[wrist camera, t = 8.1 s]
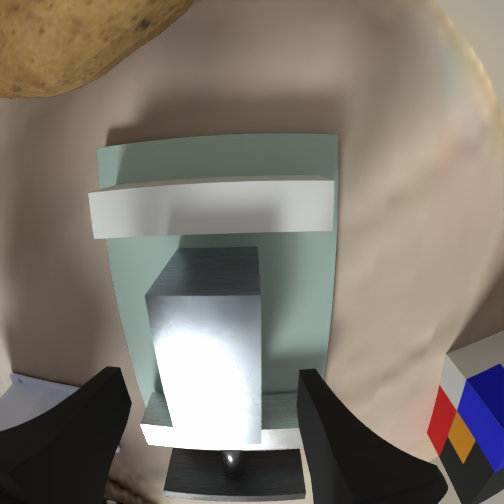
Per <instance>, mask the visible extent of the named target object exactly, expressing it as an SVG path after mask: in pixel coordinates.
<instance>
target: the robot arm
mask: <svg viewBox="0 0 504 504" xmlns="http://www.w3.org/2000/svg"><path fill="white" fill-rule="evenodd" d="M9 377H10V379H11V381H12V383H13V384H12V385H11V386H10V387H9V388H8V390H7V391H6V392H5V393H4V395H3V396H2V397H1V398H0V504H103V499H104V493H105V487H106V482H107V478H108V474H109V469H110V466H111V463H112V460H113V458H114V455H115V453H119V452H120V447H119V442H120V440H121V437H122V435H123V432H124V429H125V427H126V424H127V421H128V417H129V413H130V408H131V404H132V402H131V399H130V396H129V394H128V391H127V388H126V385H125V382H124V379H123V376H122V372H121V369H120V368H119V367H109V366H107V367H106V368H104V369H103V370H102V371H100V372H99V373H98V374H97V375H95V376H94V377H93V378H92V379H90V380H89V381H88V382H87V383H85V384H84V385H83V386H82V387H75V386H69V385H64V384H59V383H54V382H49V381H45V380H40V379H36V378H32V377H28V376H24V375H20V374H16V373H11V374H10V375H9ZM296 407H297V416H298V425H299V430H300V434H301V438H302V443H303V447H304V451H305V455H306V459H307V463H308V467H309V471H310V476H311V483H312V491H313V500H314V504H438V503H439V501H440V500H441V499H442V498H443V497H444V495H445V494H446V493H447V491H448V485H447V483H446V481H445V478H444V476H443V475H442V473H441V471H440V470H439V469H438V467H437V466H436V465H434V464H431V463H429V462H426V461H423V460H421V459H418V458H416V457H414V456H412V455H410V454H408V453H406V452H404V451H402V450H400V449H398V448H396V447H395V446H393V445H392V444H390V443H388V442H387V441H385V440H384V439H382V438H381V437H379V436H378V435H377V434H375V433H374V432H373V431H371V430H370V429H369V428H368V427H366V426H365V425H364V424H363V423H362V422H361V421H360V420H358V419H357V418H356V417H355V416H354V415H353V414H352V413H351V412H350V411H349V410H348V409H347V408H346V407H345V405H344V404H343V403H342V402H341V401H340V400H339V399H338V397H337V396H336V395H335V394H334V393H333V392H332V390H331V389H330V388H329V386H328V385H327V384H326V382H325V381H324V380H323V378H322V377H321V376H320V374H319V373H318V371H317V370H316V369H315V368H314V369H301V370H299V379H298V392H297V404H296Z"/></svg>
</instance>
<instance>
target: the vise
mask: <svg viewBox="0 0 504 504" xmlns="http://www.w3.org/2000/svg"><path fill="white" fill-rule="evenodd" d="M96 150H97V166H98V179H99V190H96V191H93V192H90V193H88V196H89V205H90V213H91V221H92V228H93V235H94V239H102V238H105V240H106V247H107V253H108V259H109V265H110V270H111V276H112V281H113V286H114V291H115V296H116V301H117V306H118V310H119V315H120V319H121V323H122V327H123V331H124V335H125V339H126V343H127V347H128V351H129V354H130V358H131V362H132V365H133V369H134V372H135V375H136V379H137V382H138V385H139V389H140V392H141V395H142V398H143V401H144V404H145V407H147V404H148V402H149V399H150V396H151V393H152V392H159V393H165V392H164V388H163V384H162V380H161V376H160V371H159V367H158V362H157V358H156V353H155V349H154V344H153V339H152V334H151V329H150V323H149V318H148V313H147V307H146V301H145V294H146V293H147V291H148V290H149V288H150V287H151V285H152V284H153V283H154V281H155V280H156V278H157V277H158V275H159V274H160V273H161V271H162V270H163V268H164V267H165V266H166V264H167V263H168V261H169V260H170V259H171V257H172V256H173V254H174V253H175V252H176V250H177V249H178V248H211V247H258V257H259V273H260V288H261V395H269V394H290V393H297V392H298V379H299V370H301V369H314V368H315V369H316V370H317V371H318V373H319V374H320V376H321V377H322V378H323V380H324V375H325V367H326V359H327V351H328V342H329V333H330V323H331V312H332V301H333V289H334V275H335V259H336V241H337V216H338V134H312V133H255V134H228V135H210V136H195V137H183V138H172V139H162V140H153V141H145V142H137V143H129V144H122V145H115V146H108V147H102V148H96Z"/></svg>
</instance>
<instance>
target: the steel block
mask: <svg viewBox="0 0 504 504" xmlns="http://www.w3.org/2000/svg"><path fill="white" fill-rule="evenodd" d="M145 301H146V307H147V313H148V318H149V323H150V329H151V334H152V339H153V344H154V349H155V353H156V358H157V362H158V367H159V371H160V376H161V380H162V384H163V388H164V392H165V396H166V400H167V404H168V407H169V411H170V415H171V418H172V422H173V426H174V429H175V432H176V436H177V439H178V441H181V442H194V443H212V444H261V288H260V273H259V257H258V247H211V248H178V249H177V250H176V252H175V253H174V254H173V256H172V257H171V259H170V260H169V261H168V263H167V264H166V266H165V267H164V268H163V270H162V271H161V273H160V274H159V275H158V277H157V278H156V280H155V281H154V283H153V284H152V285H151V287H150V288H149V290H148V291H147V293H146V294H145Z"/></svg>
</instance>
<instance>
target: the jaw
mask: <svg viewBox="0 0 504 504" xmlns="http://www.w3.org/2000/svg"><path fill="white" fill-rule="evenodd" d="M296 404H297V393H290V394H269V395H261V444H212V443H194V442H181V441H178V439H177V436H176V432H175V429H174V426H173V422H172V418H171V415H170V411H169V407H168V404H167V400H166V396H165V393H159V392H152V393H151V396H150V399H149V402H148V404H147V407H146V410H145V413H144V416H143V418H142V421H141V427H142V429H143V432H144V434H145V437H146V439H147V442H148V444H153V445H161V446H171V447H183V448H197V449H220V450H221V451H213V450H193V449H180V448H173V450H172V454H171V459H170V463H169V468H168V472H167V477H166V481H165V486H164V493H165V495H166V496H167V497H174V498H184V499H194V500H208V501H233V502H257V501H282V500H295V499H305V495H306V490H305V483H304V476H303V468H302V461H301V454H300V449H287V450H267V451H242V450H260V449H283V448H298V447H303V443H302V438H301V434H300V430H299V425H298V416H297V407H296Z"/></svg>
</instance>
